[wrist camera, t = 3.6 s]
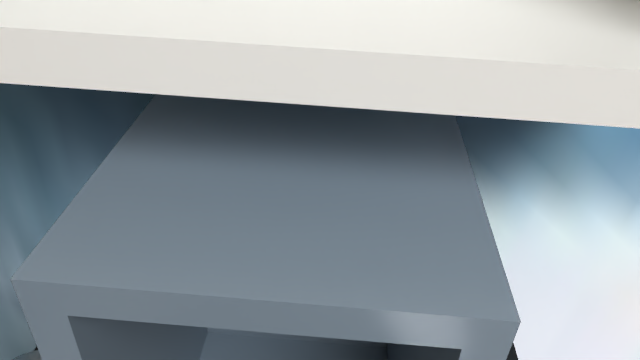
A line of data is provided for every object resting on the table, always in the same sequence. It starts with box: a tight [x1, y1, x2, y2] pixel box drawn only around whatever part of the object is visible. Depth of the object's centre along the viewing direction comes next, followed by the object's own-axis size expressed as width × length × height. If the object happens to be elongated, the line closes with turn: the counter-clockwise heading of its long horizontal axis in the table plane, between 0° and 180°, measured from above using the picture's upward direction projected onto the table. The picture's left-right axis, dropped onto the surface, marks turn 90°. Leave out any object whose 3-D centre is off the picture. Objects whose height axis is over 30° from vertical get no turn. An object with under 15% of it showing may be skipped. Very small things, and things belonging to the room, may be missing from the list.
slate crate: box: [10, 94, 521, 360], centre depth 11 cm, size 8×6×6 cm
